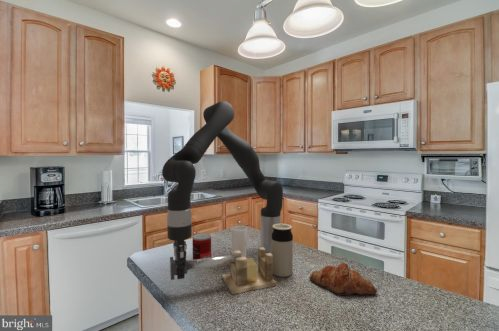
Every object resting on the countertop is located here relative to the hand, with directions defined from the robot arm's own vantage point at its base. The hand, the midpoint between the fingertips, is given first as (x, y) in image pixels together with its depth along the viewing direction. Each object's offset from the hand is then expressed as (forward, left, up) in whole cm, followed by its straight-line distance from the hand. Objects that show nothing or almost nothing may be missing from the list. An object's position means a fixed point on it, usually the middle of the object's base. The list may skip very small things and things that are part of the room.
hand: (180, 275), depth 81 cm
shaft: (-8, 0, 0) cm, 9 cm away
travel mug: (-38, -2, -6) cm, 39 cm away
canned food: (-11, -23, -6) cm, 26 cm away
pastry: (-52, +14, -7) cm, 54 cm away
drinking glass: (-25, -15, -6) cm, 30 cm away
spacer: (-23, 0, -2) cm, 24 cm away
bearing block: (-23, 0, -6) cm, 24 cm away
